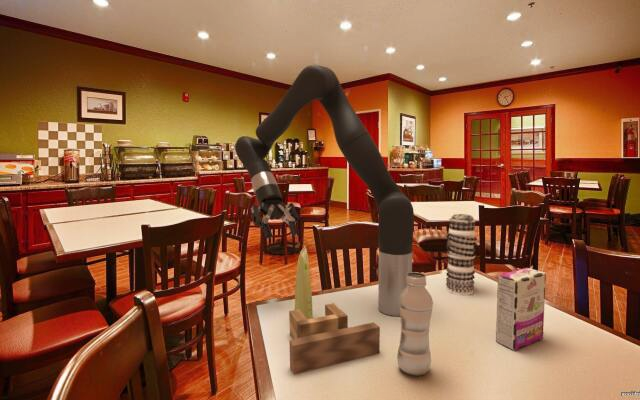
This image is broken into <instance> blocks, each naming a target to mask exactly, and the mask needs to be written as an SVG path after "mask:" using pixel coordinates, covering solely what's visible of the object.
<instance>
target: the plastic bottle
mask: <svg viewBox="0 0 640 400" xmlns="http://www.w3.org/2000/svg"><path fill="white" fill-rule="evenodd" d="M426 276H427V275H426V274H424V273H421V272H416V271H414V272H413V271H412V272H411V273H407V275H406V284H407V287H406V288H405V289H404V290H403V292H402V293H401V295H400V298H399V306H400V315H401V316H400V337H399V338H400V339H399V346H398V349H397V355H396V359H397V365H398V366H399V368H400V370H401V371H402V372H404V373H405V374H407V375H411V376H422V375H426V374H427V373H428V371H429V370H430V367H431V363H432V354H431V350H430V335H429V334H430V324H431V323H430V322H431V318H432V312H433V306H434V301H433V297H432V295H431V294H430V291H428V289H427V288H426V286H427V277H426Z"/></svg>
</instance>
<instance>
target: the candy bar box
mask: <svg viewBox="0 0 640 400" xmlns="http://www.w3.org/2000/svg"><path fill="white" fill-rule="evenodd" d="M546 275H547V272H544V271H542V270H538V269H534V268H530V267H524V268H521V269H516V270H513V271H509V272H506V273H502V274H498V275H497V290H496V291H497V294H496V296H497V297H496V299H497V300H496V327H495V342H496V343H497V344H499V345H501V346H504V347H506V348H508V349H509V350H512V351H513V352H515V351H517V350H521V349H522V348H525V347H527V346H530V345H532V344H534V343H537V342H538V341H540V340H543V339H544V320H545V318H544V317H545V299H546V279H547V277H546Z"/></svg>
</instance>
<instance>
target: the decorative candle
mask: <svg viewBox="0 0 640 400" xmlns="http://www.w3.org/2000/svg"><path fill="white" fill-rule="evenodd" d="M448 220H449V228H448V231H446V239H447V240H446V250H448V251H446V256H447V257H448V262H447V268H446V273H445V274H446V276H447V277H446V278H445V281H446V282H445V286H446V289H445V290H446V291H447V292H448V293H450V292H451V293H450V294H454V295H458V296H471V295H473V294H474V293H473V292H475V291H474V289H475V286H474V285H475V280H474V279H475V273H476V272H475V269H474V267H475V266H474V259H475V258H476V256H477V255H476V253H475V252H476V251H477V249H476V248H475V247H474V246H477V245H478V244H477V242H476V241H478V238H477V237H476V236H475V235H476V229H475V228H476V222H477V220H476V219H475V218H474V217H473V215H471V214H466V213H465V214H463V213H458V214H457V213H456V214H453V215H452V216H451V217H450V218H448ZM472 293H473V294H472ZM470 294H471V295H470Z"/></svg>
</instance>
